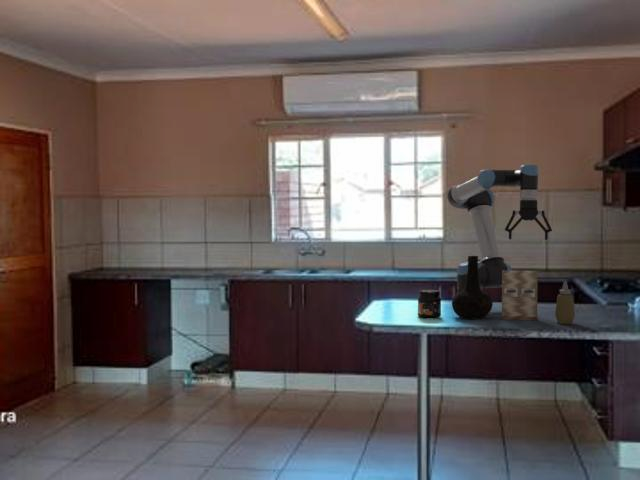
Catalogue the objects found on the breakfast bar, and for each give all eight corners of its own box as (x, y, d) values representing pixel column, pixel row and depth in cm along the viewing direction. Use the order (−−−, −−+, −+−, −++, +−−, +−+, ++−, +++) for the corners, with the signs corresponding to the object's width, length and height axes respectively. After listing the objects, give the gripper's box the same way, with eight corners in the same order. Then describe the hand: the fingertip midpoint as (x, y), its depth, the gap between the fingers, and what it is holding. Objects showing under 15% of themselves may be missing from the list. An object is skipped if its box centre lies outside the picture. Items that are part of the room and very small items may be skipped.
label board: (501, 319, 334) (502, 271, 333) (501, 317, 339) (502, 270, 338) (537, 320, 330) (537, 271, 329) (536, 318, 336) (536, 270, 335)
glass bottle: (450, 320, 333) (450, 256, 332) (453, 314, 350) (454, 254, 349) (491, 321, 328) (491, 257, 327) (493, 315, 346) (493, 254, 344)
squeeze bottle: (572, 322, 325) (572, 280, 324) (576, 325, 317) (577, 282, 316) (553, 322, 326) (553, 280, 325) (557, 324, 318) (557, 282, 317)
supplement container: (413, 317, 342) (413, 291, 341) (424, 314, 350) (424, 289, 349) (434, 319, 335) (434, 292, 335) (445, 316, 344) (445, 290, 343)
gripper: (499, 199, 336) (498, 247, 337) (558, 199, 329) (557, 248, 331) (500, 199, 343) (499, 246, 345) (557, 199, 337) (556, 247, 338)
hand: (527, 247), depth 338 cm, fingers open, 13 cm apart
